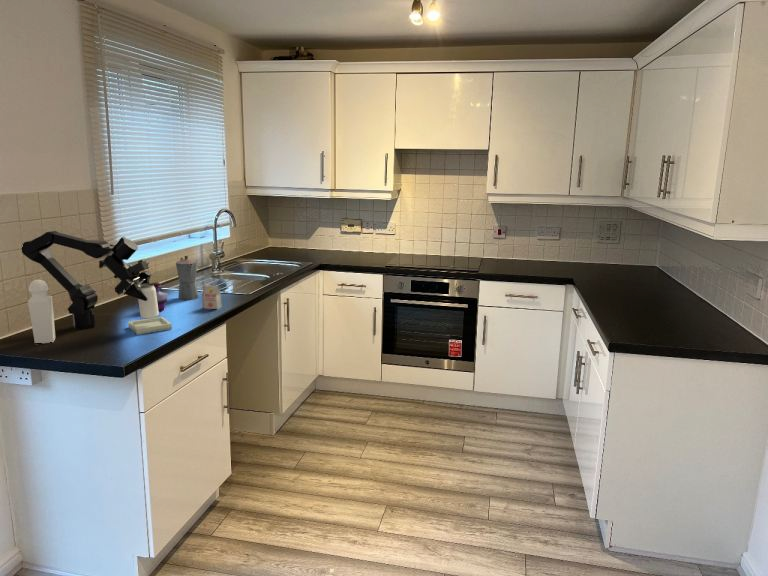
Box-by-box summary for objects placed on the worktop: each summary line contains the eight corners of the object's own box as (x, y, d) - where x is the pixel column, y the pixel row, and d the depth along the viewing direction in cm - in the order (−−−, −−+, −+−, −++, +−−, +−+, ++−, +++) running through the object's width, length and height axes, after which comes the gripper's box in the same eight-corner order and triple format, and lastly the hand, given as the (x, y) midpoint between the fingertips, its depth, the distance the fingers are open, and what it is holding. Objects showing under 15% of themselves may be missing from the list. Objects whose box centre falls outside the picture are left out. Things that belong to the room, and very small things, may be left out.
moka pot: (184, 302, 255) (181, 258, 251) (171, 296, 267) (168, 254, 262) (204, 299, 261) (202, 256, 257) (191, 293, 273) (188, 252, 268)
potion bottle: (173, 308, 245) (171, 281, 242) (161, 313, 236) (158, 285, 234) (155, 307, 247) (153, 280, 244) (142, 312, 238) (140, 284, 236)
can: (147, 312, 218) (143, 282, 215) (162, 313, 217) (158, 283, 213) (136, 318, 212) (132, 287, 209) (152, 319, 211) (148, 288, 207)
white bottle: (33, 344, 195) (24, 282, 190) (36, 339, 200) (28, 278, 196) (54, 342, 197) (47, 280, 192) (57, 337, 203) (49, 277, 198)
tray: (136, 335, 206) (136, 329, 206) (128, 327, 216) (128, 321, 216) (171, 329, 214) (171, 323, 213) (162, 322, 223) (162, 316, 223)
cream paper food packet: (207, 306, 248) (206, 284, 246) (221, 307, 246) (220, 285, 244) (203, 308, 244) (201, 286, 242) (217, 309, 243) (215, 287, 240)
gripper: (120, 257, 200) (153, 289, 202) (145, 249, 218) (175, 278, 220) (100, 278, 202) (133, 309, 204) (126, 269, 220) (156, 297, 222)
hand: (150, 298), depth 212 cm, fingers closed on can, 6 cm apart
